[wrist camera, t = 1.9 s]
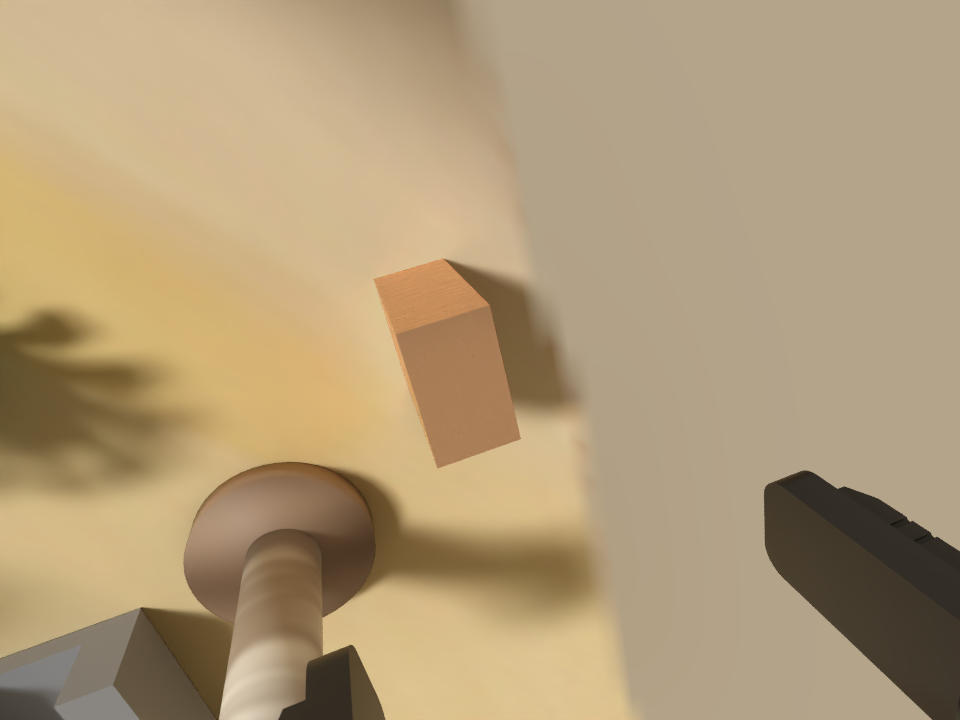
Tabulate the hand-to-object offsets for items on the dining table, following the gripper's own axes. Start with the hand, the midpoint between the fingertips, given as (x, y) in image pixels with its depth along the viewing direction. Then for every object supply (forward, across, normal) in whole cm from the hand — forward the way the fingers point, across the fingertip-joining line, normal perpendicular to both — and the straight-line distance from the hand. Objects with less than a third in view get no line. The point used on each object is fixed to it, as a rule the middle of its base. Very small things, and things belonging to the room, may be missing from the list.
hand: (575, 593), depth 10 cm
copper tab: (+16, 0, 0) cm, 16 cm away
